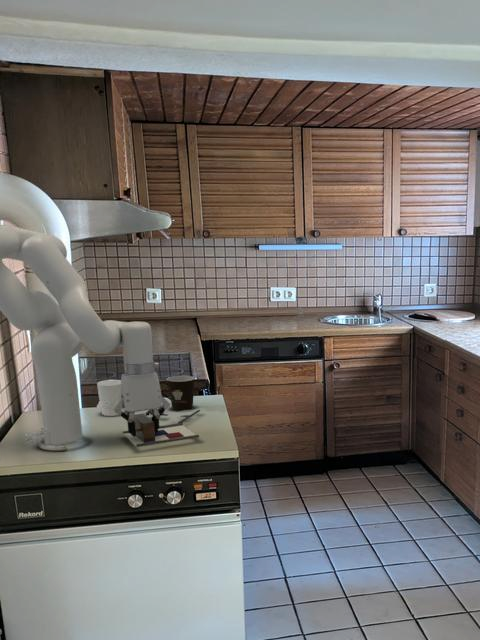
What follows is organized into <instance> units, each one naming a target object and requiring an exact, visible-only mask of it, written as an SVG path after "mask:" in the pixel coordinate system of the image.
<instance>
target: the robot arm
mask: <svg viewBox="0 0 480 640" xmlns="http://www.w3.org/2000/svg"><path fill="white" fill-rule="evenodd" d="M67 257H68V250H67V247H66V245H65V243H64V242H63V241H62V240H61V239H60V238H59V237H58V236H55V235H53V234H50V233H44V232H38V231H36V230H35V231H34V230H30V229H27V228H21V227H17V226H13V225H7V224H0V312H1V313H2V314H3V316H5V318H6V319H7V320H8V321H9V323H10V324H11V325H12V326H13V327H14V328H16V329H18V330H20V331H25V332H26V331H32V330H34V331H35V332H36V335H35V337H34V338H33V340H32V341H31V348H30V351H31V352H30V353H31V358H32V362H33V365H34V368H35V373H36V378H37V386H38V387H37V388H38V393H39V402H40V410H41V420H42V427H41V428H40V430H39V431H37V432H33V433H31V432H30V433H25V434H24V439H25V442H31V443H37V442H38V447H39V448H40V449H41V450H46V451H54V452H55V451H56V452H57V451H67V450H68V449H67V447H66V446H65V445H67V444H72V443H76V442H79V441H81V440H82V439H83V437H84V436H83V428H82V418H81V417H82V415H81V408H80V407H81V406H80V397H79V388H78V379H77V373H76V369H75V364H74V361H73V358H74V357H75V356H76V355H78V354H79V353H80V351H81V350H82V348H83V345H84V346H85V347H86V348H87V349H88V350H89V351H91V352H93V353H95V354H98V355H105V354H108V353H111V352H112V351H114V350H115V349H118V348H122V355H123V365H124V366H123V368H124V373H122V374H121V378H120V380H121V400H120V402H119V403H118V404H117V406H116V407H115V408H114V410H113V411H114V412H115V413H117V414H118V415H117V416H120V418H121V417H122V419H124V420H125V421H126V422H127V431H128V432H129V433H130V434H131V435H132V436H133V437H134V436H136V429H135V422H134V421H133V418H134V415H136V414H135V413H136V412H142V411H143V412H145V411H149V410H151V411H152V414H153V415H152V416H151V418H150V419H151V420H152V421H153V422H154V429H155V433H158V429H159V426H160V418H161V417H162V414H164V413H165V411H166V410H167V409H168V408H169V407H170V406H171V402H169V401H168V400H167V399H166V397H165V396H164V395H162V394H161V392H162V389H161V384H159V383H160V380H159V376H158V373H157V371H156V369H157V368H160V363H159V362H156V361H154V350H153V349H154V347H153V334H152V327H151V324H150V323H148V322H146V321H129V322H127V321H119V320H114V319H113V320H111V319H107V320H102V319H101V317H100V316H99V315H98V313H97V312H96V311H95V309H94V308H93V306H92V305H91V303H90V300H89V297H88V290H87V284H86V282H85V280H84V278H83V277H82V276H81V275H80V274H79V272H78V271H77V270H76V269H75V268H74V266H73V265H72V264H71V263H70V261H69V260H68V259H67ZM5 259H10V260H15V261H20V262H24V263H25V264H26V265H27V267H28V268H29V269H30V270H31V271H32V272H33V274H34V275H35V276H36V277H37V278H38V280H39V281H40V282H41V283H42V285H43V286H44V287H45V289H46V290H48V292H49V293H50V294H51V296H52V297H53V298H54V299H53V298H52V297H51V296H50V295H49V294H47V293H46V292H43V291H41V290H30V289H29V288H28V287H27V286H26V285H25V284H24V283H23V282H22V281H21V280H20V278H19V277H18V276H17V275H16V274H15V273H14V271H13V270H11V269H10V268H9V267H8V266H7V265H6V264H5V263H4V262H3V260H5ZM122 408H124V412H122V411H121V409H122ZM125 412H126V413H125Z"/></svg>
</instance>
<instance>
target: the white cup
mask: <svg viewBox="0 0 480 640" xmlns="http://www.w3.org/2000/svg"><path fill="white" fill-rule="evenodd" d="M96 386H97V392H98V393H97V394H98V400H99V406H100V410H101V411H100V412H101V415H102V416H105V417H115V416H119V415H118V414H117V413H115V412H114V411H113V410H114V408H115V407H116V406H117V404H118V403H119V402H120V400H121V379H106V380H105V379H104V380H101V381H98V382H96ZM121 411H122V412H124V413H125V409H124V408H122V409H121Z"/></svg>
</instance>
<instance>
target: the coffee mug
mask: <svg viewBox="0 0 480 640" xmlns="http://www.w3.org/2000/svg"><path fill="white" fill-rule="evenodd" d="M195 378H196V377H194V376H191V375H174V376H169V377H167V378H166V381H159V384H160V385H162V384H164V385H166V386H167V388H168V394H169V396H168V395H167V394H165V393H164V392H163V391H161V396H163V397H164V398H167V399H168V400H169V401H170V405H171V408H172V409H171V410H172V411H174V412H184V411H191V410H193V409H194V393H195Z"/></svg>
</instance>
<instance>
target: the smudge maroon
mask: <svg viewBox="0 0 480 640" xmlns="http://www.w3.org/2000/svg"><path fill="white" fill-rule="evenodd" d="M165 436H167V437H168V438H169V439H172V438H178V437H184V436H183V435H182V434H181V433H180V432H176V433H169V434H165Z"/></svg>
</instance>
